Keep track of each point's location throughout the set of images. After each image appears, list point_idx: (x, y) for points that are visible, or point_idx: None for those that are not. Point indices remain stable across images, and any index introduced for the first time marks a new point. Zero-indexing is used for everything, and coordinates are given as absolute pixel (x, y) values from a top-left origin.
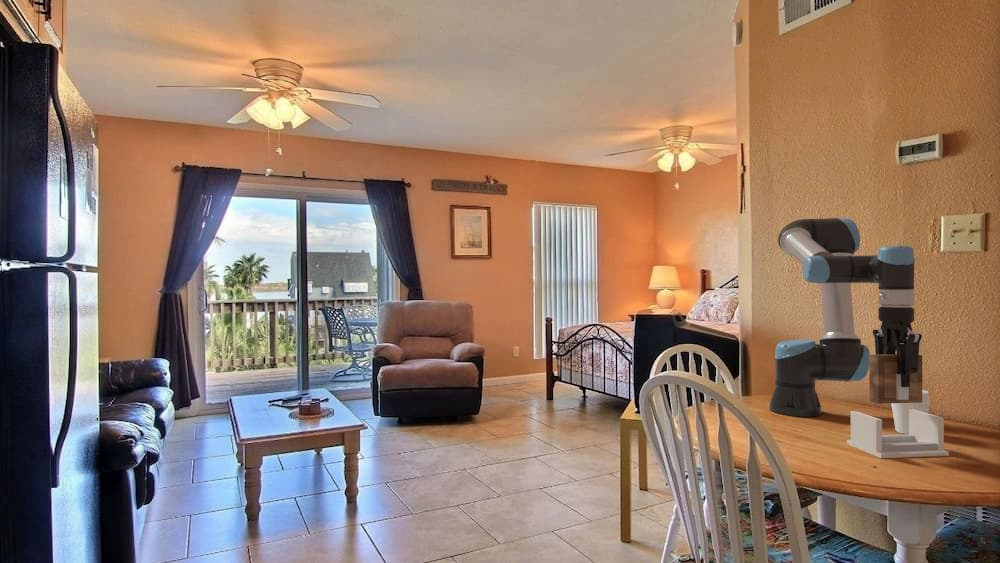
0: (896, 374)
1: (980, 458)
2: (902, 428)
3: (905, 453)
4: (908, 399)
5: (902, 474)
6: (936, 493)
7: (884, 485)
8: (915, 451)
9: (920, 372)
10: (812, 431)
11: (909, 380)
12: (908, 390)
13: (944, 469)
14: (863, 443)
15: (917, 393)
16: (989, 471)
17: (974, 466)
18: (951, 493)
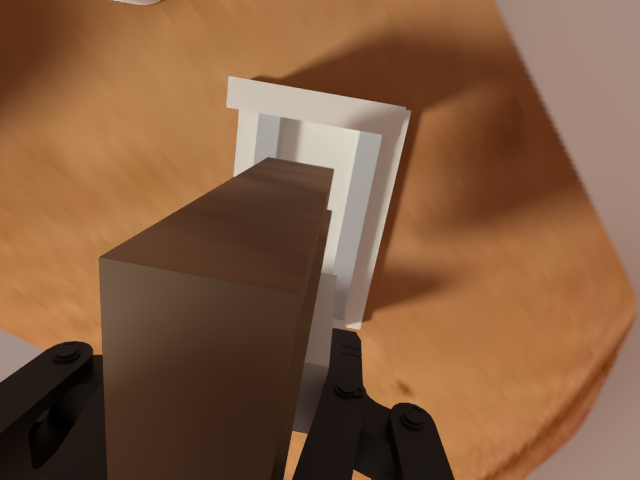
0: (294, 425)
1: (469, 27)
2: (143, 2)
3: (375, 260)
4: (336, 276)
5: (469, 378)
6: (580, 416)
7: (499, 462)
8: (372, 217)
9: (318, 233)
10: (92, 287)
11: (361, 365)
12: (334, 299)
13: (489, 253)
14: None
15: (330, 217)
16: (559, 146)
17: (511, 142)
18: (596, 391)
